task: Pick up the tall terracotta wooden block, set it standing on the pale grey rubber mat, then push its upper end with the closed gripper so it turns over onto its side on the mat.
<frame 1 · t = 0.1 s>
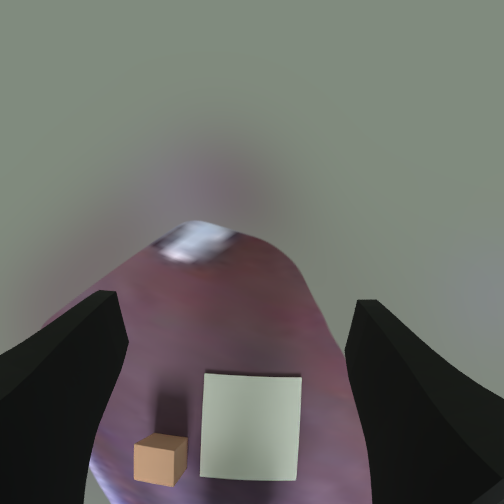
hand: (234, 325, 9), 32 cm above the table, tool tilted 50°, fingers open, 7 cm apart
terracotta block: (170, 450, 34), on the table
grey mat: (250, 429, 36), on the table
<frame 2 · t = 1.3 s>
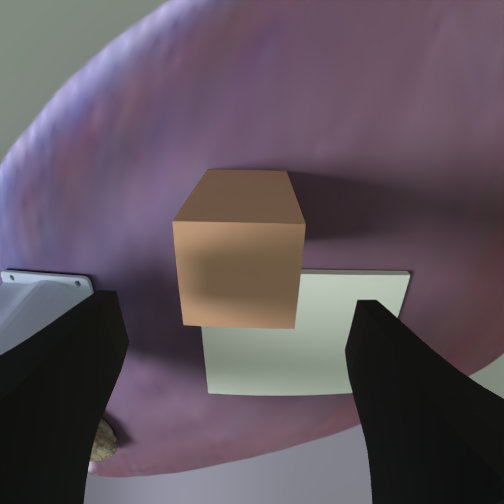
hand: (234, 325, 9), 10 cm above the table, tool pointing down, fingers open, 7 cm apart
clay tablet: (49, 411, 32), on the table
terracotta block: (246, 206, 19), on the table
grey mat: (299, 339, 23), on the table
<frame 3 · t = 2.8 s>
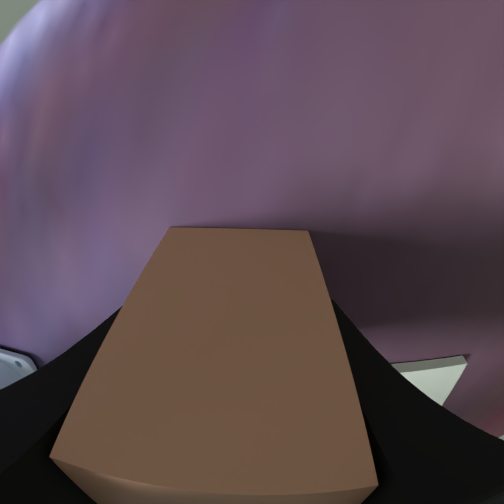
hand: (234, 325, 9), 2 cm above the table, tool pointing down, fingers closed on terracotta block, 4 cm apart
terracotta block: (237, 287, 11), on the table, touching gripper
grey mat: (311, 437, 16), on the table
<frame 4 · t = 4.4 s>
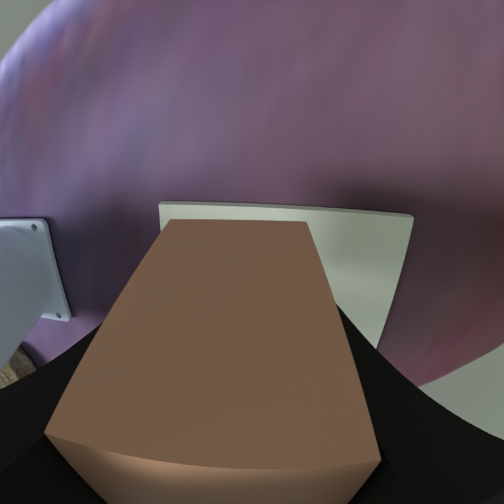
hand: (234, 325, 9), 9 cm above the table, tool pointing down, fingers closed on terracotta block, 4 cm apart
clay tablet: (14, 387, 28), on the table
terracotta block: (237, 279, 11), point 7 cm above the table, touching gripper
grey mat: (282, 299, 20), on the table
when the fingers open (4 cm above the table, at t = 6.2 s): terracotta block drops 1 cm, resting on grey mat.
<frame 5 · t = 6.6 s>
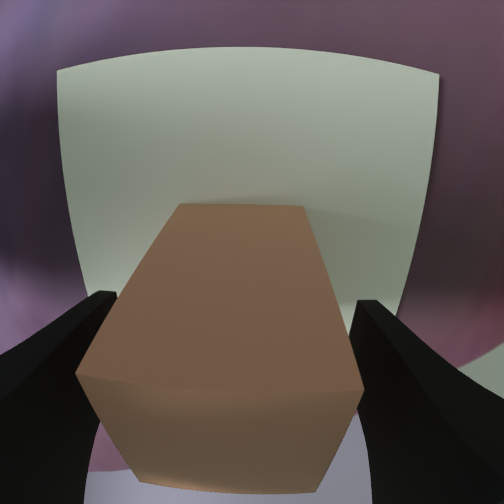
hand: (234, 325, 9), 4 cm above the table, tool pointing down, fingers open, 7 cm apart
terracotta block: (240, 259, 12), point 1 cm above the table, touching grey mat
grey mat: (241, 211, 12), on the table
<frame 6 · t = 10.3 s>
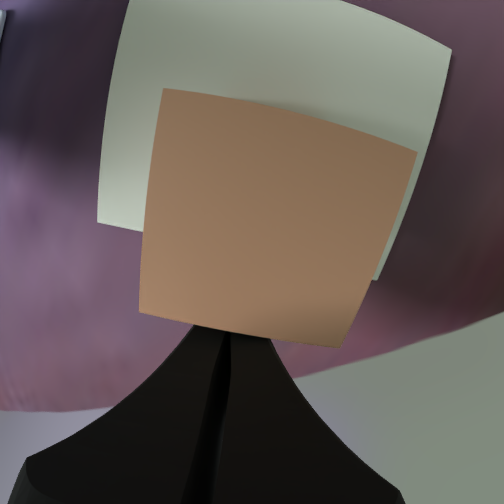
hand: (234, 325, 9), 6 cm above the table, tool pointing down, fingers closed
terracotta block: (261, 160, 13), point 1 cm above the table, touching grey mat, gripper
grey mat: (270, 119, 13), on the table
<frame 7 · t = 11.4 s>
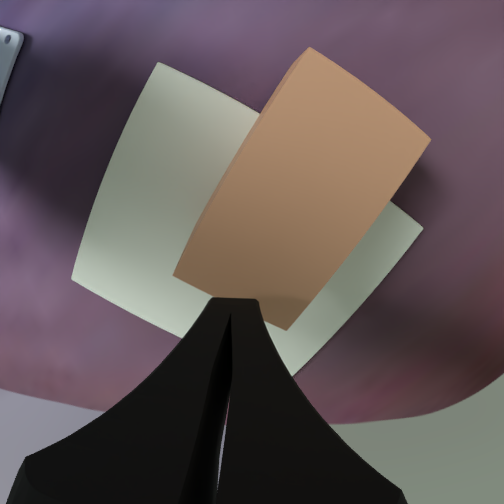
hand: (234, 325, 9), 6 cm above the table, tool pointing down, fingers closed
terracotta block: (235, 272, 13), point 3 cm above the table, tilted 90°, touching grey mat
grey mat: (234, 249, 15), on the table
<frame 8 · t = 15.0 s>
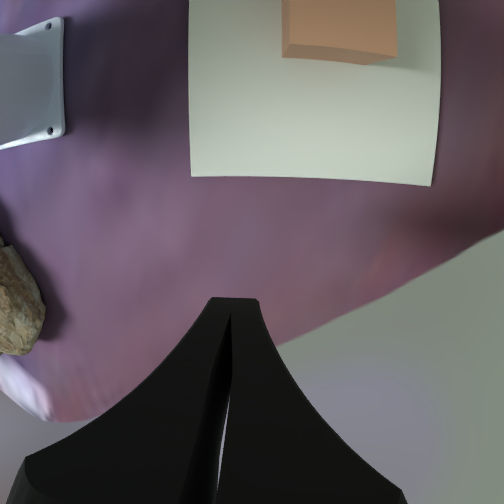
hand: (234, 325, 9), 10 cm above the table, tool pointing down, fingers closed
terracotta block: (333, 55, 12), point 3 cm above the table, tilted 90°, touching grey mat
grey mat: (322, 70, 15), on the table
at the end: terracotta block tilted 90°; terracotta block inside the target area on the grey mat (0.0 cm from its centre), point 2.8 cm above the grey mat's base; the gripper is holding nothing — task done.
